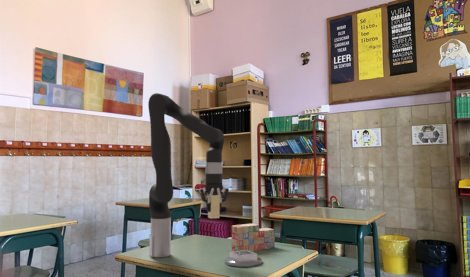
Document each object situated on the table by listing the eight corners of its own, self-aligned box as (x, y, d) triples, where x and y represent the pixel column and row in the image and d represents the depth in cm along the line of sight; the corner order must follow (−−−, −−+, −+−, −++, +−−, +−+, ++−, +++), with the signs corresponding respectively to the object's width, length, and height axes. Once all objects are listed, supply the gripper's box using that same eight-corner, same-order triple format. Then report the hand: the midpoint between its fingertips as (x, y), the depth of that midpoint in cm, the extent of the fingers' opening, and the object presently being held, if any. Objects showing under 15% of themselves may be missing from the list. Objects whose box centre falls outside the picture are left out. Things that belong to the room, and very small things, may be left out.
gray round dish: (232, 269, 147) (232, 258, 147) (219, 259, 162) (219, 250, 162) (268, 264, 153) (268, 255, 153) (252, 256, 168) (252, 247, 168)
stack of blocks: (267, 246, 191) (267, 221, 192) (274, 248, 185) (274, 223, 186) (231, 250, 180) (231, 225, 181) (237, 253, 175) (237, 226, 176)
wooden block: (210, 218, 161) (211, 195, 161) (208, 217, 164) (208, 194, 165) (219, 218, 162) (219, 195, 163) (216, 216, 166) (216, 194, 167)
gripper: (201, 172, 159) (200, 213, 157) (231, 172, 164) (231, 211, 163) (196, 172, 166) (195, 211, 164) (225, 172, 171) (225, 210, 170)
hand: (213, 211), depth 163 cm, fingers closed on wooden block, 4 cm apart
